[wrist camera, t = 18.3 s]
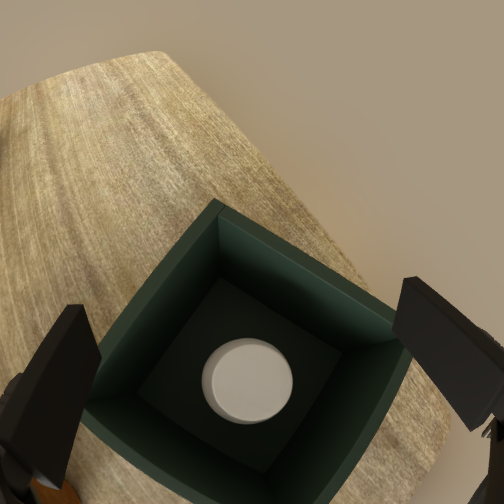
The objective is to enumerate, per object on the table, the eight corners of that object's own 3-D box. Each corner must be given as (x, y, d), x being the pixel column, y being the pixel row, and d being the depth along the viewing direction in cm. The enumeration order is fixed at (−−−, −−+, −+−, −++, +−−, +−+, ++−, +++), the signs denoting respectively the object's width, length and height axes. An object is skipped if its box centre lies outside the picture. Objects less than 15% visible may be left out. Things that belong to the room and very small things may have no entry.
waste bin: (350, 350, 24) (424, 329, 14) (265, 482, 18) (292, 545, 9) (218, 267, 26) (213, 197, 16) (126, 393, 21) (59, 401, 11)
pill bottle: (234, 424, 20) (241, 454, 12) (193, 372, 21) (174, 371, 13) (288, 384, 21) (326, 389, 13) (248, 333, 23) (261, 309, 15)
